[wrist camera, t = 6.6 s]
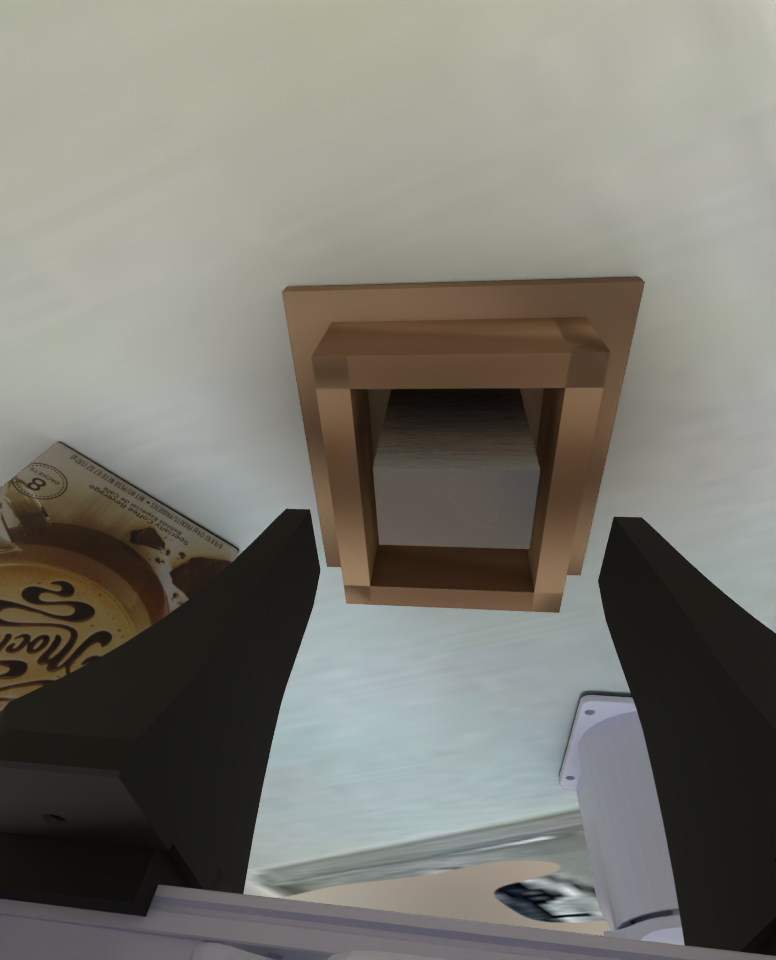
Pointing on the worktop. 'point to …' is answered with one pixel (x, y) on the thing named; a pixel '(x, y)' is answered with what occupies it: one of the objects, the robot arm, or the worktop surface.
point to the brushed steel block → (456, 469)
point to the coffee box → (87, 567)
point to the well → (461, 365)
